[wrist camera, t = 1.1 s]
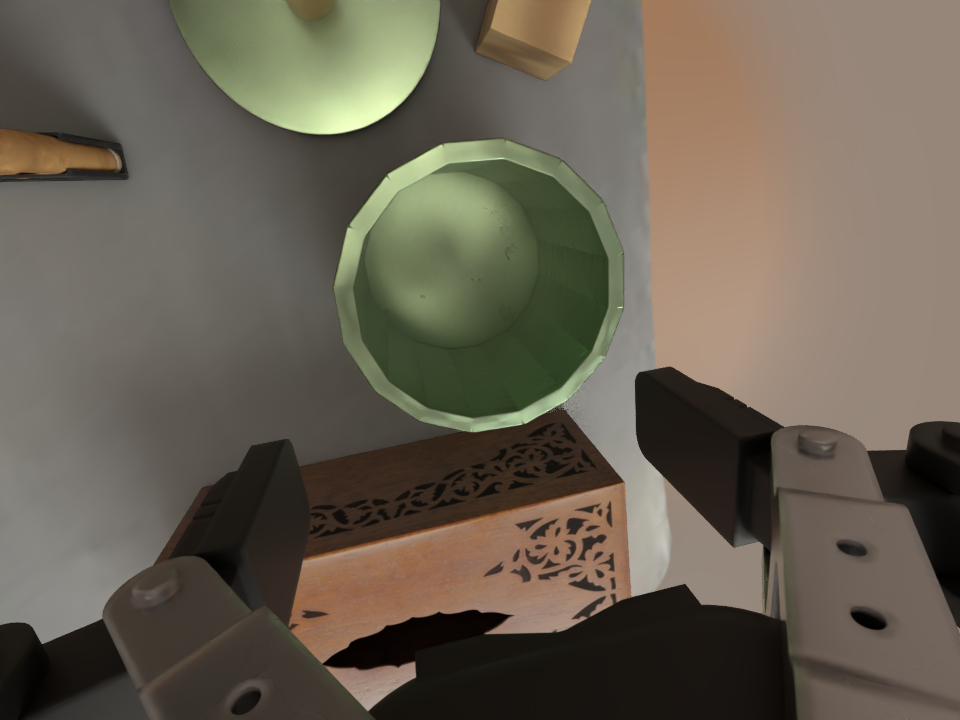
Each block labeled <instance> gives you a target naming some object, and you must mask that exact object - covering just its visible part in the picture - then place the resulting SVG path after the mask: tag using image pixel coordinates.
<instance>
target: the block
mask: <svg viewBox="0 0 960 720" xmlns="http://www.w3.org/2000/svg"><path fill="white" fill-rule="evenodd" d="M590 3H591V0H489V3H488V7H487V10H486V14H485V18H484V21H483V25H482V29H481V32H480V36H479V40H478V43H477V47H476V51H475V52H476V53H479V54H481V55H484V56H486V57H488V58H491V59H493V60H496V61H498V62H501V63H503V64H506V65H508V66H510V67H513V68H515V69H518V70H520V71H523V72H525V73H527V74H530V75H532V76H535V77H537V78H540V79H542V80H545V81H546V80H548V79H549V78H551V77H552V76H553V75H555V74H556V73H558V72H559V71H560V70H562V69H563V68H565V67H566V66H567V65H569V64H570V63H571V62H572V60H573V57H574V54H575V50H576V47H577V44H578V41H579V38H580V35H581V32H582V28H583V25H584V22H585V19H586V16H587V13H588V9H589V6H590Z"/></svg>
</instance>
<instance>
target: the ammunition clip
mask: <svg viewBox="0 0 960 720" xmlns="http://www.w3.org/2000/svg"><path fill="white" fill-rule="evenodd" d="M126 179H128V173H127V169H126V164H125V160H124V156H123V151H122V147H121V145H120V144H118V143H113V142H107V141H102V140H96V139H91V138H85V137H80V136H75V135H69V134H64V133H31V132H25V131H19V130H13V129H0V182H24V181H82V180H126Z"/></svg>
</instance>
